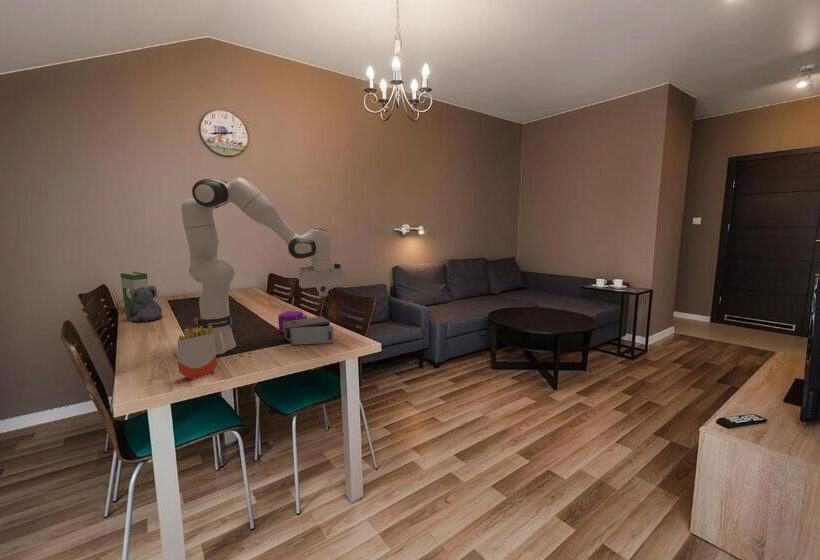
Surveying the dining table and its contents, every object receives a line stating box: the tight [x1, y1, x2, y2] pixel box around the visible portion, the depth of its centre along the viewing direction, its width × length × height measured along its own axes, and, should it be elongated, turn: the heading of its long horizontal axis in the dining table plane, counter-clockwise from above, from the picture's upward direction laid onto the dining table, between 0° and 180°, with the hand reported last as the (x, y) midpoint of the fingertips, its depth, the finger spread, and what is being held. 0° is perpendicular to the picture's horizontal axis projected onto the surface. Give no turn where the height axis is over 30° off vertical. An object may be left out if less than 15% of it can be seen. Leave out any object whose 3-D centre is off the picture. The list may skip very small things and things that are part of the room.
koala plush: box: [124, 284, 163, 323], centre depth 208 cm, size 17×18×20 cm
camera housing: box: [283, 316, 331, 344], centre depth 172 cm, size 19×11×9 cm, turn 123°
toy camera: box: [277, 309, 308, 334], centre depth 184 cm, size 11×14×10 cm
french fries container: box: [177, 326, 218, 380], centre depth 129 cm, size 5×11×18 cm, turn 140°
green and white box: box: [120, 271, 150, 311], centre depth 227 cm, size 18×7×24 cm, turn 57°
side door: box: [290, 325, 335, 346], centre depth 163 cm, size 18×2×8 cm, turn 98°
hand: (323, 296), depth 164 cm, fingers closed
